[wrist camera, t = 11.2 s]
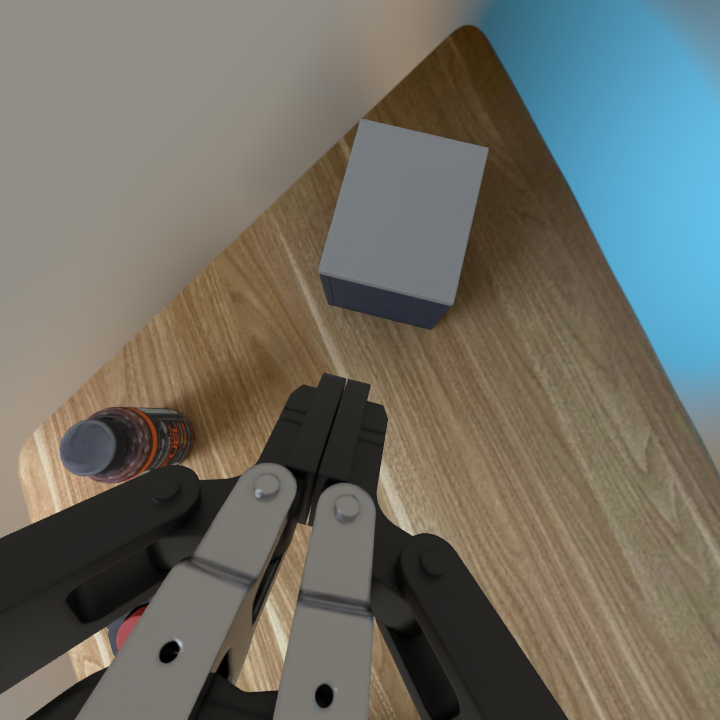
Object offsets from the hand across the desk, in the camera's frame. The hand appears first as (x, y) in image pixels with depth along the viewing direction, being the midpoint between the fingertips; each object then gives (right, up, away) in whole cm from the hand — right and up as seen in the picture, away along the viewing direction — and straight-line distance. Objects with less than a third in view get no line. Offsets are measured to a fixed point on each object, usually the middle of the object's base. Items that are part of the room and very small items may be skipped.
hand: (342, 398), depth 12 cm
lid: (+4, +14, +20) cm, 24 cm away
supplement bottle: (-19, -7, +26) cm, 33 cm away
